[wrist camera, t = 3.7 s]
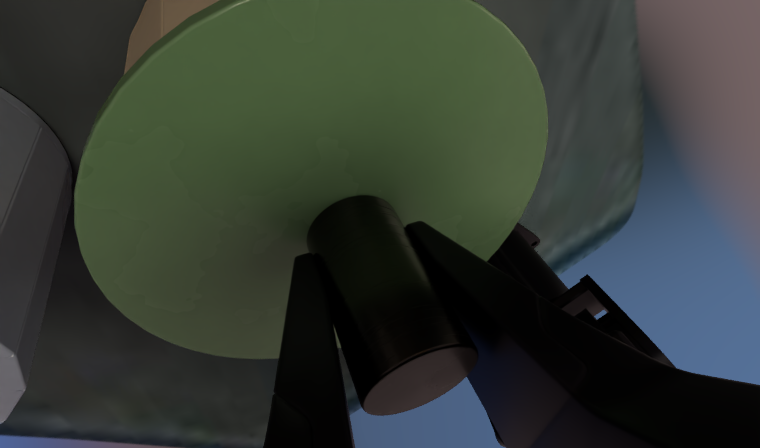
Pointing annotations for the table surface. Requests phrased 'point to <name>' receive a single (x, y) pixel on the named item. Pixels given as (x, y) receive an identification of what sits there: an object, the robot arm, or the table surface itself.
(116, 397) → the table surface
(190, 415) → the table surface
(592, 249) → the table surface
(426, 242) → the robot arm
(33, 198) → the cup
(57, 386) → the table surface
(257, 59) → the lid
